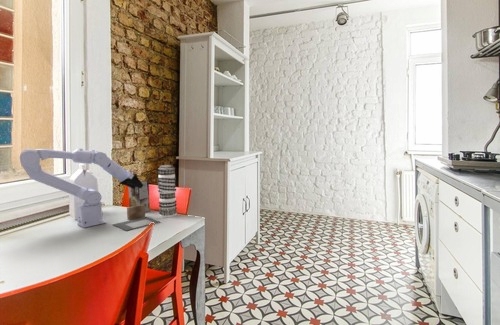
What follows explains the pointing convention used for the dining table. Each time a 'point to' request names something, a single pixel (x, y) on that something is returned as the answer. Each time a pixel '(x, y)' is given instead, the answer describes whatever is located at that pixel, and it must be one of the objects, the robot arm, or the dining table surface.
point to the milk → (84, 180)
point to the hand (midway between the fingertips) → (138, 186)
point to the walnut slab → (135, 212)
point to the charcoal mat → (135, 223)
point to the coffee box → (140, 195)
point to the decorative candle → (167, 191)
